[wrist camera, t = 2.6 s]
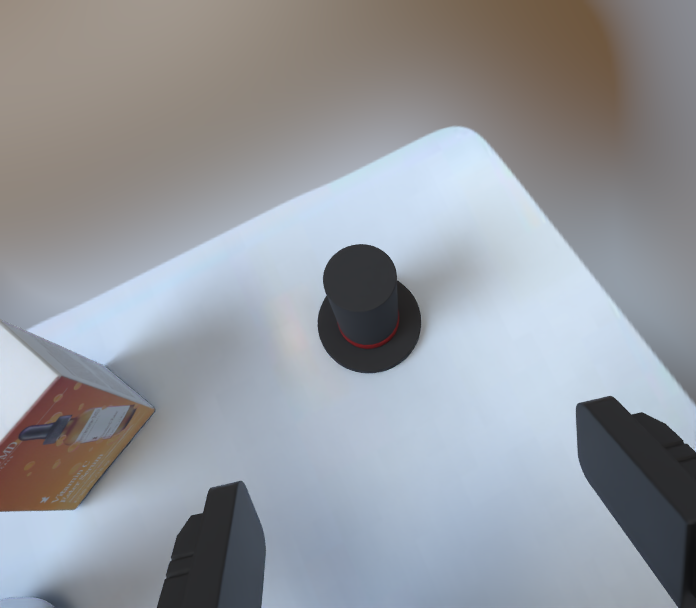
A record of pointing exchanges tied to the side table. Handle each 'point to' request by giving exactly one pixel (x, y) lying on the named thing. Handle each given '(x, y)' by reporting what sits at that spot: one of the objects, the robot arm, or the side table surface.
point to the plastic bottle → (24, 603)
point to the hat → (367, 311)
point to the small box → (58, 422)
